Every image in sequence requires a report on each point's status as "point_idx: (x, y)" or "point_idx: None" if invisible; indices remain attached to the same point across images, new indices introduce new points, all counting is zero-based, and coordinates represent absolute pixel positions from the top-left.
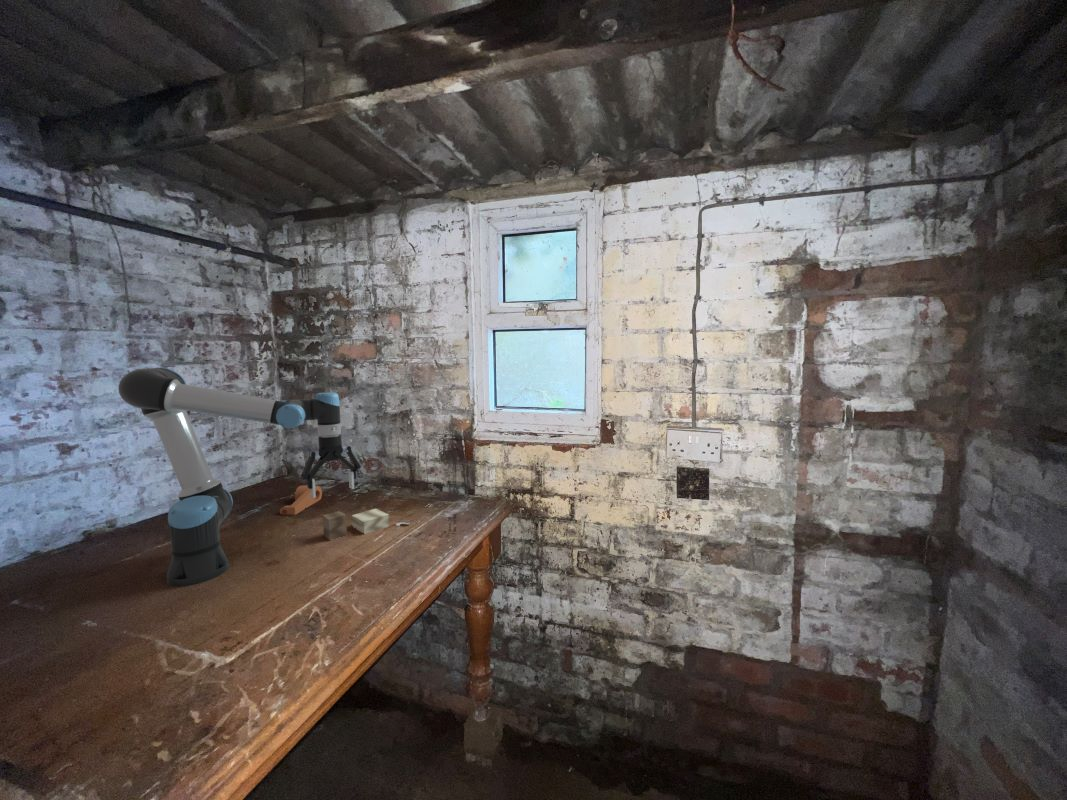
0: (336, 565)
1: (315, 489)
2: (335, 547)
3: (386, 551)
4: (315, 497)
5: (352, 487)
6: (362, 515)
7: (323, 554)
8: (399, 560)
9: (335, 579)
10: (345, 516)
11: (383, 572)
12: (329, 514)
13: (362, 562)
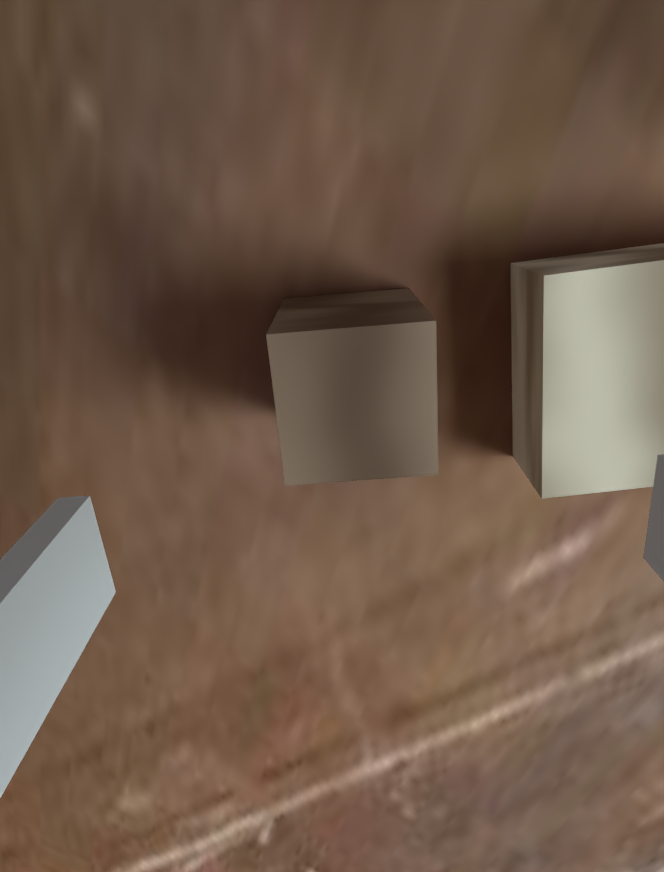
0: (247, 714)
1: None
2: (297, 531)
3: (489, 725)
4: (110, 591)
5: (661, 573)
6: (609, 347)
7: (219, 575)
8: (486, 819)
9: (215, 807)
10: (432, 469)
11: (387, 857)
12: (324, 359)
13: (353, 752)
